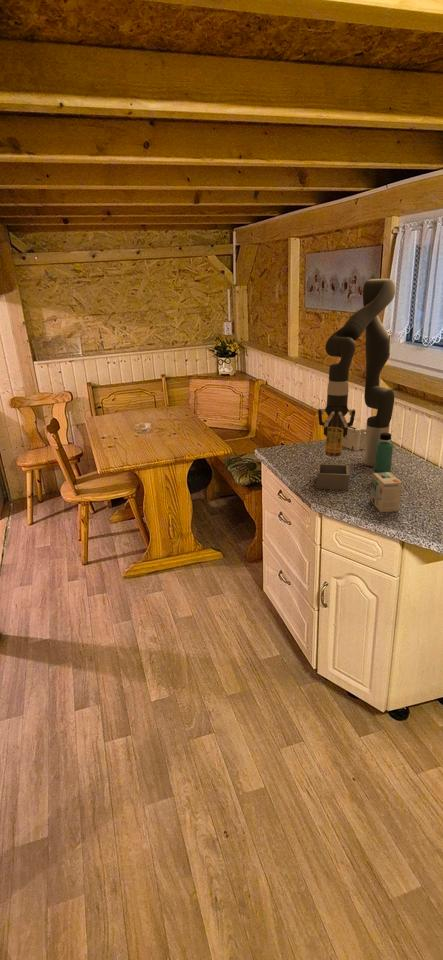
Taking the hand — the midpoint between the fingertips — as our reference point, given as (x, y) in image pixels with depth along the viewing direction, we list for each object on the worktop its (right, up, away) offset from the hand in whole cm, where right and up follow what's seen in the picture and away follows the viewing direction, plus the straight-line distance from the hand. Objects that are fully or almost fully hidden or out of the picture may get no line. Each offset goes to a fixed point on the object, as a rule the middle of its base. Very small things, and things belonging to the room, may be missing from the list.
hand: (335, 436), depth 195 cm
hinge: (+20, -2, +49) cm, 53 cm away
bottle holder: (0, -18, +7) cm, 19 cm away
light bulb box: (+14, -26, -14) cm, 33 cm away
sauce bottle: (0, -7, +3) cm, 8 cm away
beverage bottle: (+20, -18, +7) cm, 28 cm away
